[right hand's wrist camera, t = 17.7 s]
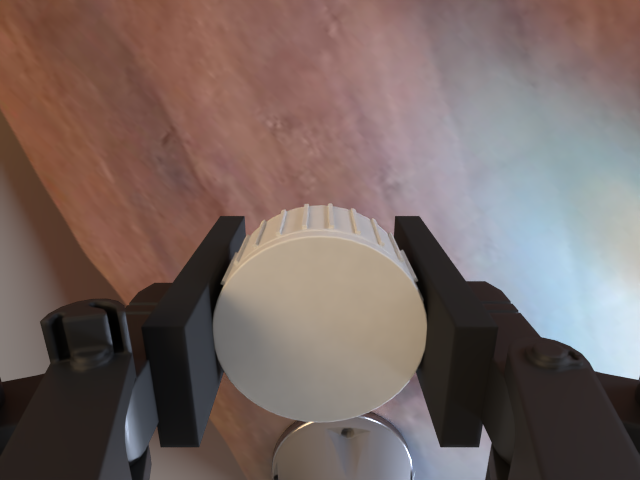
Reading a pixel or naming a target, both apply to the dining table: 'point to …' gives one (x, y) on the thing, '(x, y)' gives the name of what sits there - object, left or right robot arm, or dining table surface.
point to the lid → (319, 316)
